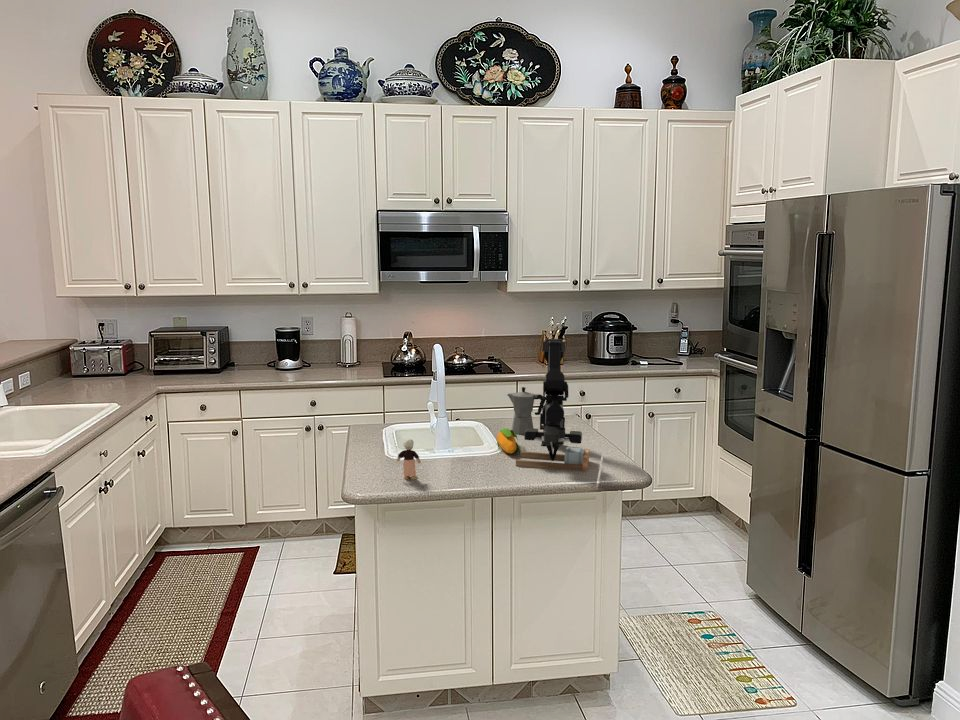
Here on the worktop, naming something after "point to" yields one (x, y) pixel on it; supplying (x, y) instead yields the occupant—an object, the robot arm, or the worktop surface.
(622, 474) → the worktop surface
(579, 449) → the block
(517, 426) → the coffeepot
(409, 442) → the grandmother figurine
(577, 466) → the bay
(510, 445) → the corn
